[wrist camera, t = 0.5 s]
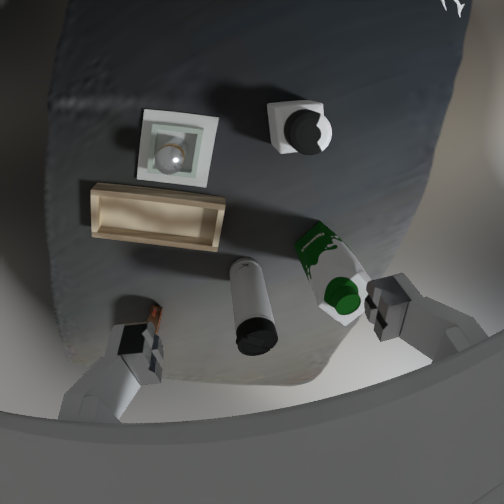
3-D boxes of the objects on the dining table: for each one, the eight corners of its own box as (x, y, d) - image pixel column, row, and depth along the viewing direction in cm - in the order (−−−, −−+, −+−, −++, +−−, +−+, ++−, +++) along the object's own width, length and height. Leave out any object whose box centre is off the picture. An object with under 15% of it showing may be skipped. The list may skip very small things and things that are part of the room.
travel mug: (237, 251, 58) (249, 326, 41) (266, 264, 61) (287, 339, 44) (222, 275, 61) (228, 353, 44) (250, 286, 63) (264, 363, 46)
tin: (155, 343, 69) (151, 370, 62) (142, 340, 68) (138, 368, 61) (165, 299, 62) (161, 327, 55) (150, 295, 61) (145, 323, 54)
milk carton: (320, 214, 56) (364, 277, 39) (346, 241, 60) (391, 305, 43) (286, 245, 59) (316, 316, 42) (315, 269, 63) (348, 339, 46)
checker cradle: (145, 108, 42) (141, 110, 40) (218, 117, 45) (218, 119, 43) (137, 178, 48) (134, 183, 46) (206, 186, 51) (205, 191, 48)
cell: (164, 135, 45) (156, 145, 38) (189, 138, 45) (185, 148, 39) (161, 159, 47) (152, 173, 40) (186, 162, 47) (181, 176, 41)
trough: (97, 182, 47) (90, 189, 44) (225, 197, 52) (225, 205, 49) (97, 227, 52) (92, 236, 49) (216, 242, 57) (217, 252, 54)
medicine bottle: (271, 144, 48) (287, 163, 38) (266, 103, 44) (282, 109, 34) (312, 140, 48) (338, 157, 38) (308, 99, 45) (336, 105, 34)
